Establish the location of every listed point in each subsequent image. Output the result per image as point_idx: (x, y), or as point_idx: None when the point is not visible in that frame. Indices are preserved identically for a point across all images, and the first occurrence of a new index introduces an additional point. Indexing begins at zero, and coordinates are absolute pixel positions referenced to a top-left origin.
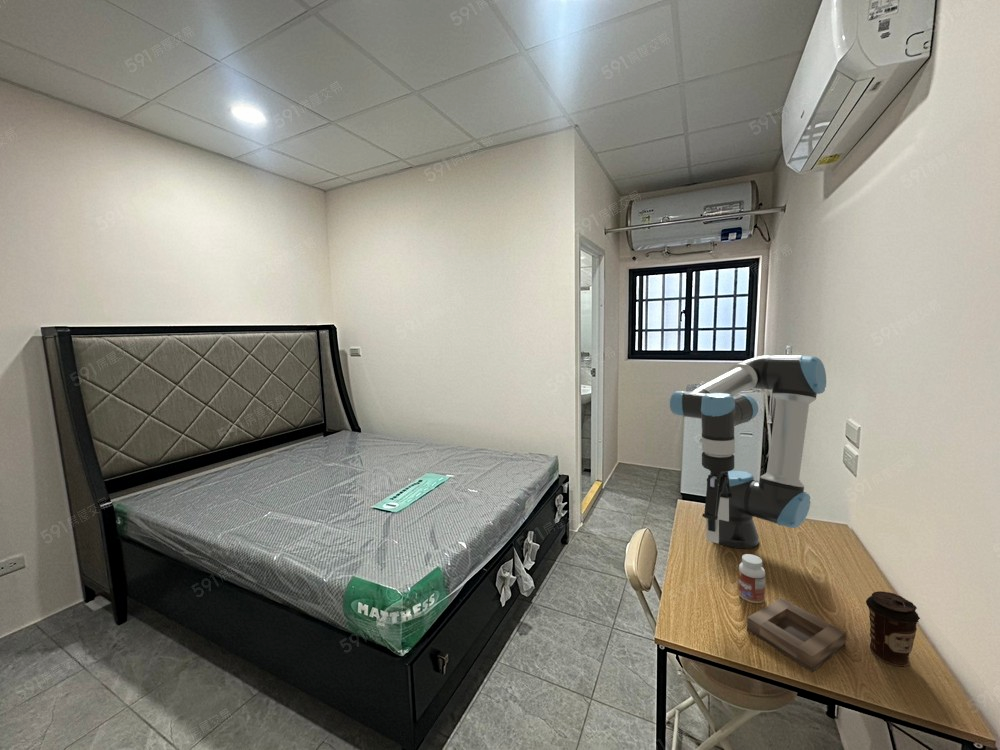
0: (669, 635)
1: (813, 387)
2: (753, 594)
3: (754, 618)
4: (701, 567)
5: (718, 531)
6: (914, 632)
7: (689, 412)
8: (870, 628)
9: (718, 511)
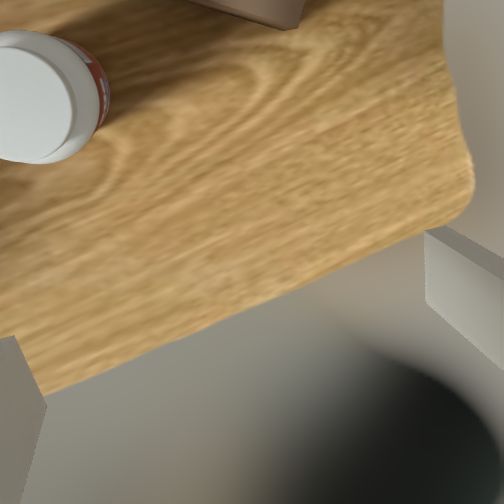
0: (454, 201)
1: None
2: (98, 68)
3: (286, 2)
4: (26, 309)
5: (496, 266)
6: None
7: None
8: None
9: (27, 457)
